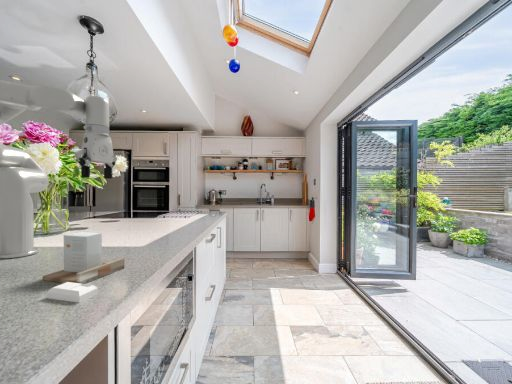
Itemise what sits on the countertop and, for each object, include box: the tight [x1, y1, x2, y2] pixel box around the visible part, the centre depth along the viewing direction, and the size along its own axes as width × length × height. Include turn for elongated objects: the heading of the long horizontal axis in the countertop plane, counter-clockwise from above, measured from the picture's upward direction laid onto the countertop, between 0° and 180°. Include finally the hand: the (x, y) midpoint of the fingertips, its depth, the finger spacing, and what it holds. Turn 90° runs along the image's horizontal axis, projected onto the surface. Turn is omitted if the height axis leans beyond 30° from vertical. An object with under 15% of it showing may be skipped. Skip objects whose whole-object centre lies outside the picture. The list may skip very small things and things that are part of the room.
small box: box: [63, 231, 103, 273], centre depth 76 cm, size 8×6×10 cm
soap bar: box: [46, 282, 99, 303], centre depth 61 cm, size 5×9×3 cm, turn 77°
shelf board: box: [42, 257, 125, 284], centre depth 76 cm, size 13×15×3 cm
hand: (97, 178), depth 97 cm, fingers open, 9 cm apart
